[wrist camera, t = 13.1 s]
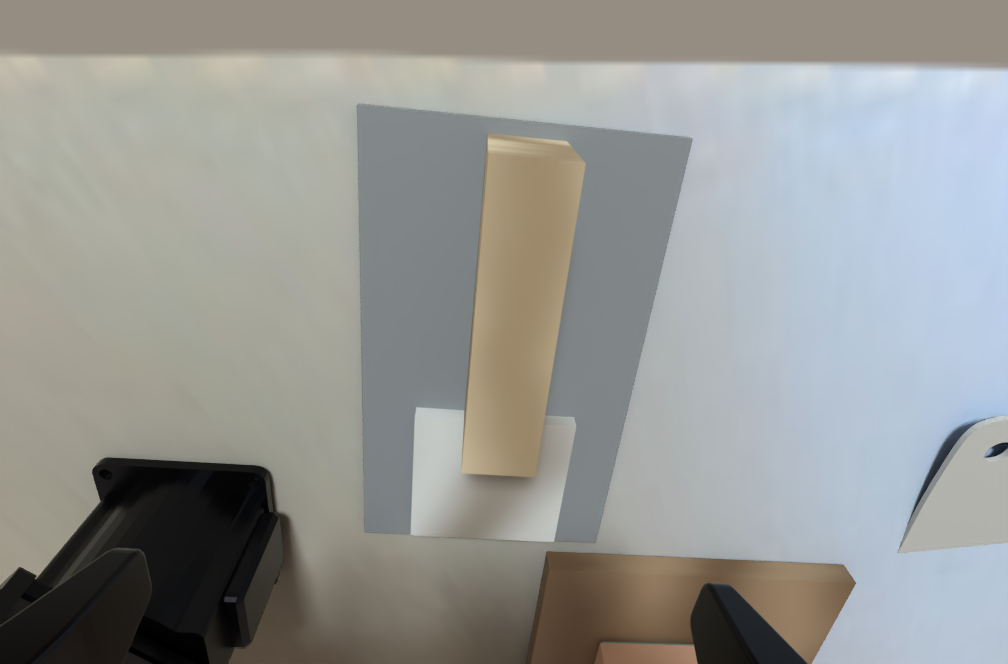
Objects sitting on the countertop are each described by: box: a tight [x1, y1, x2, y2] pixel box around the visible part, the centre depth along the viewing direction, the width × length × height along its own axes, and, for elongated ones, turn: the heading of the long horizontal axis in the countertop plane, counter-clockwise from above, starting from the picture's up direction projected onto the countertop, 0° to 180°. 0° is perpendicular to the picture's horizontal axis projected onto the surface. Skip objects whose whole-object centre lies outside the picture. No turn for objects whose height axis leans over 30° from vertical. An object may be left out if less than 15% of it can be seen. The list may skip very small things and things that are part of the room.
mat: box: [357, 104, 692, 543], centre depth 21 cm, size 10×17×1 cm, turn 174°
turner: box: [411, 133, 586, 542], centre depth 19 cm, size 6×16×4 cm, turn 174°
